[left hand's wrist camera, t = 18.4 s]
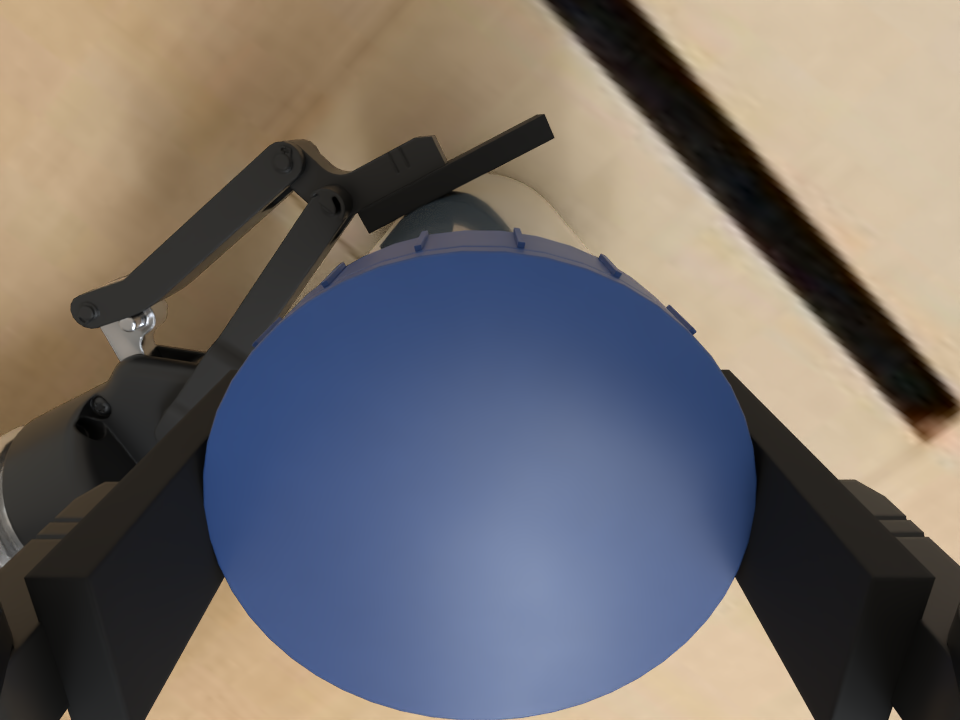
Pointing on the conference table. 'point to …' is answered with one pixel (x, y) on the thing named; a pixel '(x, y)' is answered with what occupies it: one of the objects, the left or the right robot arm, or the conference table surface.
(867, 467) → the conference table surface
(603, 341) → the lid
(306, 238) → the right robot arm
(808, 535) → the left robot arm
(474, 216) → the jar
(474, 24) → the conference table surface
